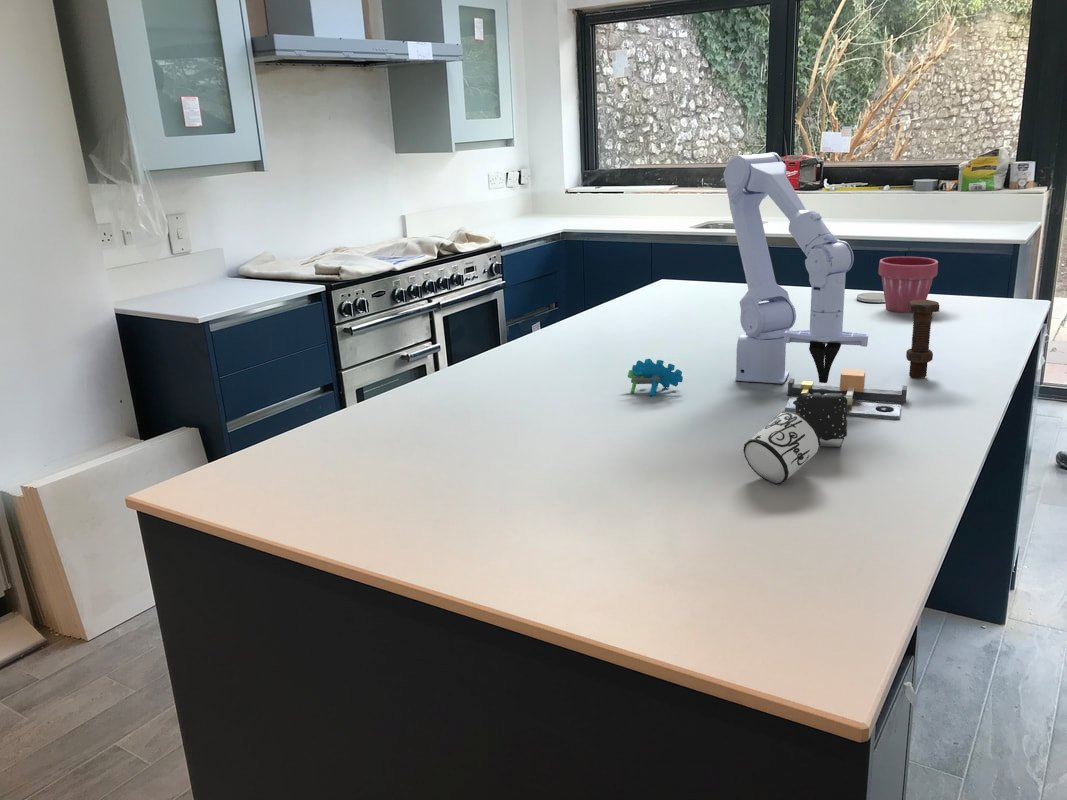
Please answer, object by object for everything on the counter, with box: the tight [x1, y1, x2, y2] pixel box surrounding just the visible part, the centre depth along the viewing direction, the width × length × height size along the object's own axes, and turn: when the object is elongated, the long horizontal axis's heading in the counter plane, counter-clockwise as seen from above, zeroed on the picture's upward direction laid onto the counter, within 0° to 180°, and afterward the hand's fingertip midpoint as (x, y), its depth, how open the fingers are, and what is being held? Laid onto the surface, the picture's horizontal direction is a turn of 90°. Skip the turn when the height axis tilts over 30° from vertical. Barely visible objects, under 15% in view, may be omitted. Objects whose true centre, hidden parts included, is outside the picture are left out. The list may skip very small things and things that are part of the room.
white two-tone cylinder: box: [742, 393, 848, 485], centre depth 133 cm, size 25×10×10 cm, turn 142°
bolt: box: [905, 299, 940, 380], centre depth 170 cm, size 6×5×15 cm
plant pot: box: [878, 256, 939, 313], centre depth 229 cm, size 14×14×13 cm
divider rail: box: [787, 377, 908, 405], centre depth 160 cm, size 21×10×3 cm, turn 67°
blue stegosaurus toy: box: [627, 358, 684, 397], centre depth 171 cm, size 11×6×10 cm
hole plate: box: [784, 396, 902, 420], centre depth 156 cm, size 19×6×1 cm, turn 67°
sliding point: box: [839, 368, 866, 405], centre depth 159 cm, size 4×10×4 cm, turn 157°
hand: (823, 381), depth 164 cm, fingers closed
